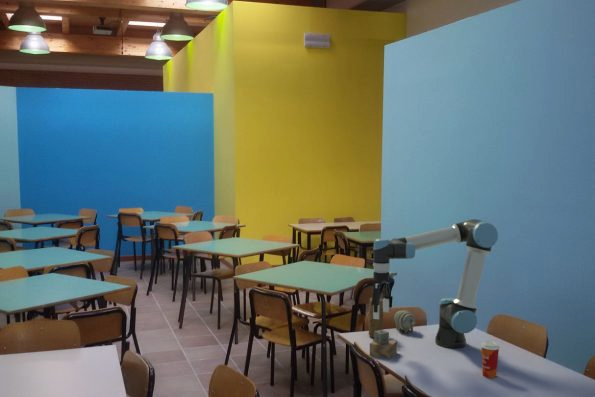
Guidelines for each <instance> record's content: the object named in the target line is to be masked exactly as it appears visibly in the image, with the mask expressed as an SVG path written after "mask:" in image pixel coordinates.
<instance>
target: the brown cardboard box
mask: <svg viewBox="0 0 595 397" xmlns="http://www.w3.org/2000/svg"><path fill="white" fill-rule="evenodd" d="M397 348H398V341H397V340H391V339H389V343H385V344H379V343H376V342H374V340H372V342H370V343H369V356H372V357H377V358H381V359H382V358H383V359H389V360H391V359H392V358H393V357H394V355H395V356H396V354H397V353H398V352H397V351H398V350H397Z"/></svg>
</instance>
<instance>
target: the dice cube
mask: <svg viewBox="0 0 595 397" xmlns="http://www.w3.org/2000/svg"><path fill="white" fill-rule="evenodd" d="M389 340H390V332H389V331H387V330H385V329H383V330H378V331H374V337H373V341H374V342H376V343H379V344H385V343H389Z"/></svg>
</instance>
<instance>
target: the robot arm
mask: <svg viewBox="0 0 595 397" xmlns="http://www.w3.org/2000/svg"><path fill="white" fill-rule="evenodd" d="M498 239H499V232H498V229H497V227H495V225H493V224H492V223H490V222H489V221H485V220H480V219H468V220H465V221H461V222H457V223H454V224H452V226H449V227H444V228H440V229H439V228H438V229H435V230H432V231H426V232H422V233H418V234H417V233H416V234H413V235H409V236H403V237H400V238H399V237H398V238H397V237H396V238H395V237H394V238H390V239H389V238H376V239H374V241H373V263H372V266H373V276H372V277H373V280H374V281H376V283H374V284H373V291H372V296H371V298H372V303H371V305H373V319H379V301H380V297H381V296H382V297H383V298H382V297H381V298H382V300H383V313H390V300H391V299H392V296H391V295H392V294H391V289H390V284H389V280H390V261H391V260H395V259H396V260H397V259H398V260H402V259H403V260H405V259H406V260H408V259H409V260H410V259H414V257H416V251H417V250H424V249H427V248H432V247H436V246H441V245H445V244H449V243H455V242H456V243H458V244H460V243H465V247H466V249H467V253H466V258H465V261H464V265H463V270H462V272H461V278H460V282H459V287H458V289H457V290H458V291H457V295H456V297H444V298H443V297H442V298H441V299H440V300H439V304H438V305H439V312H438V314H439V316H438V317H439V318H438V320H439V322H438V330H437V333H436V335H435V339H434V342H435V344H436V345H438V346H439V347H444V348H448V349H449V348H450V349H452V348H453V349H458V348H459V349H460V348H464V347H466V346H467V339H466V335H465V334H469V333H470V332H473V331H474V330H475V328H476V327H477V325H478V317H477V315H476V312H477V308H478V307H477V305H476V298H477V295H478V292H479V290H478V289H479V286H480V281H481V278H482V274H483V269H484V266H485V262H486V257H487V255H488V254H490V253H491V251H492V247H493V246H494V245H496V243H497V242H498Z"/></svg>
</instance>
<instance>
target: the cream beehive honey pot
mask: <svg viewBox="0 0 595 397" xmlns="http://www.w3.org/2000/svg"><path fill="white" fill-rule="evenodd" d="M393 316H394V317H393V320H394V323H395V327H396V328H395V329H396V330H401V331H404V334H407V333H408V331H409V330H410V333H413V332H414V326H416V318H415V316H414V315H413V313H412V312H410V311H409V310H398V311H397V312H395V314H394V315H393Z"/></svg>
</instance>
